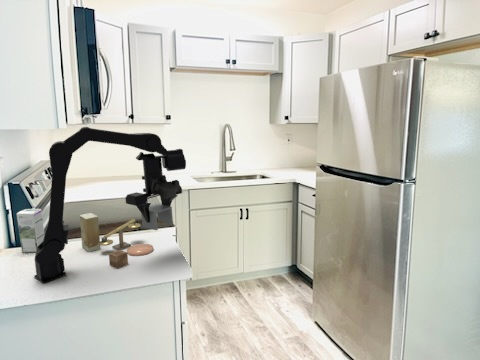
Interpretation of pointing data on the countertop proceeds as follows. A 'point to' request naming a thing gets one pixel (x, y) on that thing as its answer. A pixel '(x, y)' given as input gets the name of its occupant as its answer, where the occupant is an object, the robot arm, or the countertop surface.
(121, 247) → the balance
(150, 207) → the cover
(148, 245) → the dish
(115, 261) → the walnut block
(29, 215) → the syrup box
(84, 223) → the skincare box
